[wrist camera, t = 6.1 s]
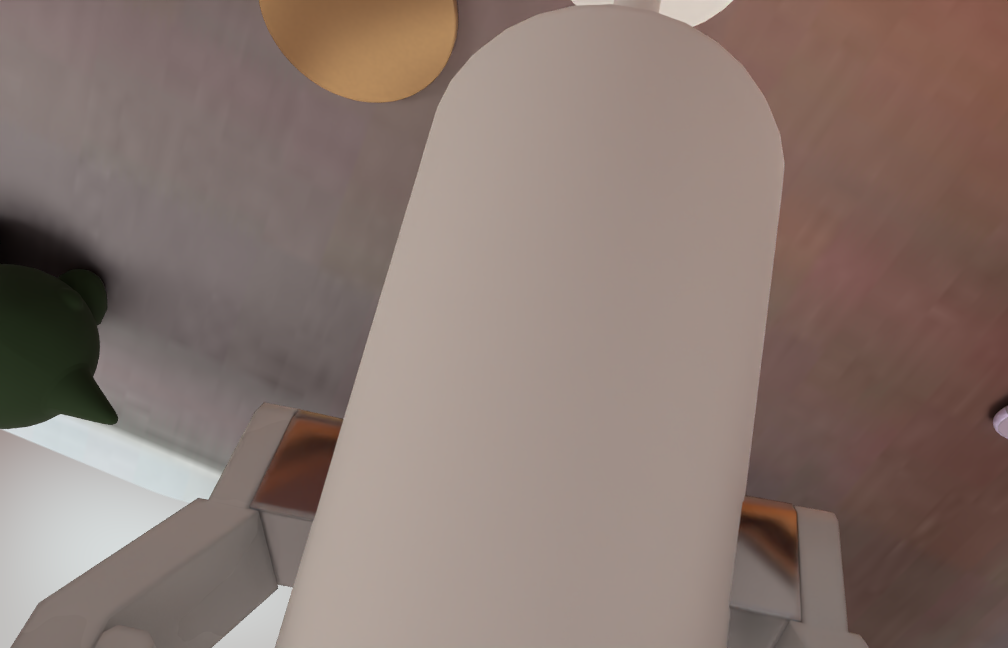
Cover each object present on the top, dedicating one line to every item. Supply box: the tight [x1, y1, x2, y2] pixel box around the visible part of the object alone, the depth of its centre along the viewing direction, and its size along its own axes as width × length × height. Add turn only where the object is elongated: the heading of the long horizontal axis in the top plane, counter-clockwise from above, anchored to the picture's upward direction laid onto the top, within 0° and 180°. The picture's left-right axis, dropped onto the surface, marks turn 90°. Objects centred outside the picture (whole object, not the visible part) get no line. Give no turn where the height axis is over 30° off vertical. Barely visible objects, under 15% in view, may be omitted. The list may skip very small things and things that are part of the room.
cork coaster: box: [259, 0, 458, 103], centre depth 39 cm, size 9×9×1 cm
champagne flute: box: [275, 0, 785, 648], centre depth 18 cm, size 7×7×24 cm
